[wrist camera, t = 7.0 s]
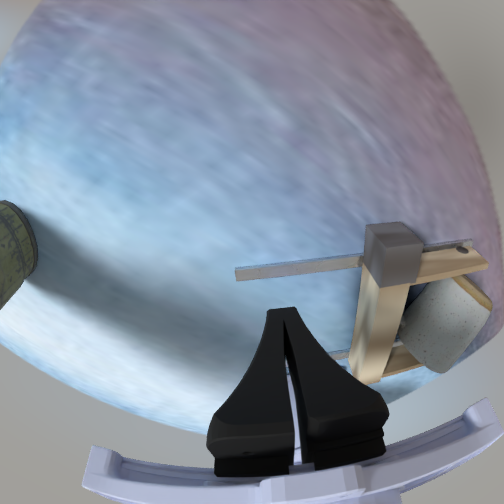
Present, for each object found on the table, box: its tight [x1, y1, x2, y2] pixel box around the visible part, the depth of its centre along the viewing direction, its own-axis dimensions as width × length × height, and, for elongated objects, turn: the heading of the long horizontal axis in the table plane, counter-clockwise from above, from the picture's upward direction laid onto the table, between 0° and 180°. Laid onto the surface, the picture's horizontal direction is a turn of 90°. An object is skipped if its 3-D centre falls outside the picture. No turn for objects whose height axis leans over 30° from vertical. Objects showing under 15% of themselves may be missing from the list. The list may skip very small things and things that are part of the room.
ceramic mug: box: [397, 274, 492, 373], centre depth 20 cm, size 11×8×8 cm
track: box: [235, 239, 473, 367], centre depth 24 cm, size 13×23×1 cm, turn 97°
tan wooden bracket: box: [348, 222, 489, 385], centre depth 21 cm, size 15×12×4 cm
